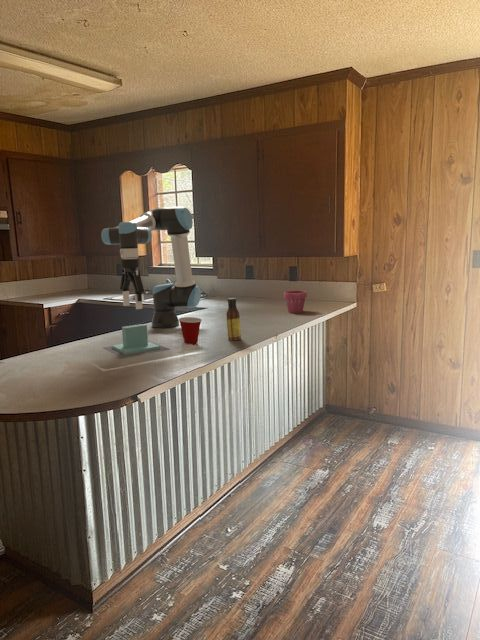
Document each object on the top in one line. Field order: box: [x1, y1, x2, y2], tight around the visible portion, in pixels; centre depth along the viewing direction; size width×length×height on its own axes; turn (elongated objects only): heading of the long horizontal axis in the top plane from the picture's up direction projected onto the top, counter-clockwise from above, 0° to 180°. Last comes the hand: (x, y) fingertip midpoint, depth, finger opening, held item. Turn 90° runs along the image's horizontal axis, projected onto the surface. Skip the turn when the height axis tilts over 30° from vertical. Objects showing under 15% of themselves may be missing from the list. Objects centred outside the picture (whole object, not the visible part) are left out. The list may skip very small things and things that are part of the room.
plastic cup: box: [178, 316, 203, 346], centre depth 226 cm, size 11×11×12 cm
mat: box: [103, 340, 171, 359], centre depth 218 cm, size 24×22×1 cm
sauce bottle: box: [226, 297, 242, 341], centre depth 232 cm, size 7×6×20 cm
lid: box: [111, 323, 160, 355], centre depth 217 cm, size 16×16×10 cm
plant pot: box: [283, 290, 307, 314], centre depth 306 cm, size 14×14×13 cm
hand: (132, 307), depth 214 cm, fingers open, 13 cm apart
